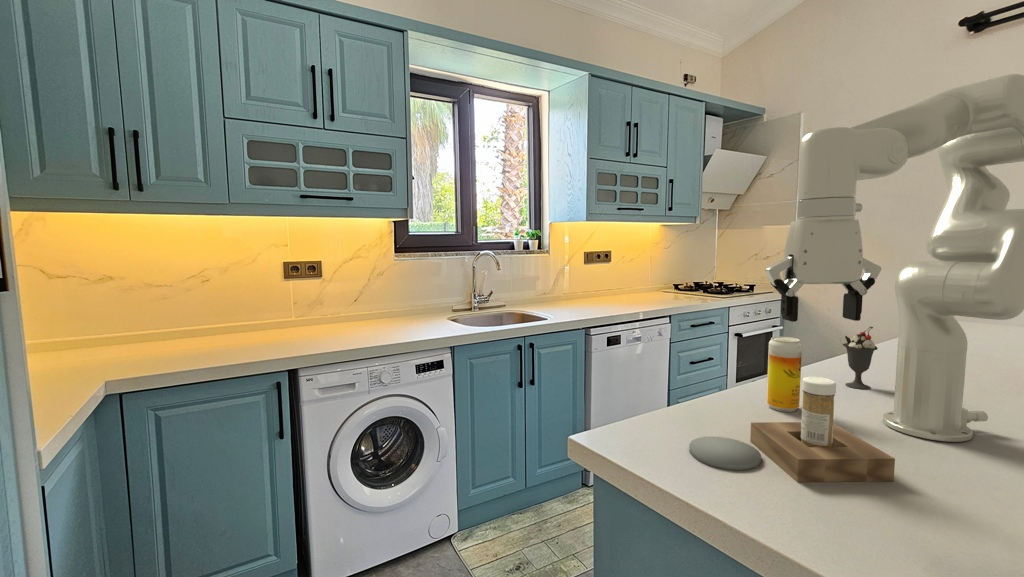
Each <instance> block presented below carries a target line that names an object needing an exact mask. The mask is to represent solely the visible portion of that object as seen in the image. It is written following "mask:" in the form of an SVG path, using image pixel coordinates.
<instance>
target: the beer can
mask: <svg viewBox="0 0 1024 577" xmlns="http://www.w3.org/2000/svg"><path fill="white" fill-rule="evenodd" d="M802 350H803V345H802V342H801V340H800V339H799V338H796V337H791V336H772V337H771V338H770V340H769V342H768V356H767V357H768V358H767V378H766V380H767V383H766V384H767V385H766V403H767V404H768V407H769V408H770V409H772V410H775V411H780V412H785V413H787V412H788V413H791V412H792V413H793V412H795V411H796V410H797V409H799V408H800V399H801V398H800V397H801V395H800V394H801V379H802V378H801V376H802V373H801V372H802V356H803V354H802V353H803V351H802Z"/></svg>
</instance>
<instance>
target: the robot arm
mask: <svg viewBox="0 0 1024 577" xmlns="http://www.w3.org/2000/svg"><path fill="white" fill-rule="evenodd" d="M799 145H800V146H799V158H798V160H799V162H798V163H799V164H798V165H799V166H798V186H797V188H798V189H797V209H796V210H797V212H796V220H794V221H791V222H790V225H789V228H788V232H787V236H786V241H785V247H784V254H783V259H782V260H779V261H778V262H776V263H774V264H771V265H769V266H767V267H766V268H765V273H766V275H767V277H768V280H769V281H770V284H771V286H772V287H773V288H774V289H775V290H776V291H777V294H779V295H781V297H780V298H781V299H780V314H781V316H782V319H783V320H785V321H788V322H798V319H799V317H798V316H799V297H798V296H796V294H797V292H798V291H799V290H800V289H801V288H802V287H803V285H842V287H843V288H844V289H845V291H847V293H843V294H844V295H843V298H842V299H843V300H842V317H843V318H844V319H846V320H849V321H857V322H860V321H861V317H862V316H861V315H862V313H863V296H866V295H867V294H868V291H869V289H870V288H872V286H875V285H874V284H875V283H876V280H877V278H878V276H879V275H880V272H881V271H882V266H880V265H879V264H876V263H874V262H872V261H871V260H868V259H867V258H864V257H863V253H864V251H863V238H862V231H861V230H862V229H861V225H860V221H859V219H856V217H855V216H856V213H861V211H862V209H863V204H862V203H860V202H859V203H858V202H857V199H856V198H857V181H864V180H872V179H873V180H874V179H879V178H883V177H885V178H886V177H887V176H891V175H893V174H895V173H897V172H898V171H899V170H901V169H902V168H903V167H904V166H905V164H906V163H907V162H908V159H912V158H915V157H919V156H922V155H926V154H928V153H930V152H932V151H934V150H936V149H938V151H937V152H938V157H939V162H940V165H941V168H942V171H943V174H944V178H945V181H946V185H947V195H946V197H945V199H944V203H943V205H942V206H941V208H940V210H939V212H938V214H937V216H936V219H935V220H934V223H933V225H932V227H931V229H930V232H929V234H928V237H927V240H926V252H927V253H928V254H929V255H930V257H931V258H932V259H934V260H924V261H916V262H912V263H910V264H908V265H906V266H904V267H903V268H901V270H899V272H898V273H897V275H896V277H895V280H894V292H895V298H896V304H897V311H898V341H897V351H896V352H897V355H896V365H895V366H896V368H895V381H894V382H895V384H894V396H893V397H894V399H893V411H887V412H885V413H884V414H882V422H883V423H884V424H885V425H886V426H887V427H889V428H891V429H893V430H895V431H898V432H900V433H904V434H905V435H910V436H912V437H917V438H920V439H926V440H931V441H937V442H946V443H947V442H949V443H951V442H952V443H962V442H966V441H970V440H971V439H972V438H973V431H972V429H971V428H970V427H969V426H968V425H967V424H970V423H971V422H987V421H988V419H989V416H988V414H987V412H985V411H983V410H970V411H969V410H968V409H966V408H965V407H963V401H964V392H965V391H964V390H965V380H966V379H965V378H966V367H967V366H966V365H967V355H968V337H967V334H966V333H965V332H966V331H965V330H964V329H963V328H962V325H961V324H960V323H959V321H958V320H957V319H956V317H957V316H958V317H965V318H975V319H976V318H977V319H982V320H983V319H985V320H995V321H997V320H999V321H1005V320H1012V319H1014V318H1017V317H1018V316H1020V315H1021V314H1022V313H1023V312H1024V208H1008V209H1007V205H1008V204H1009V201H1010V198H1011V195H1010V191H1009V188H1008V187H1007V185H1005V183H1004V182H1003V181H1002V180H1001V179H999V177H997V176H996V175H994V174H993V173H991V172H990V170H988V169H987V166H995V165H996V166H997V165H1004V164H1006V165H1007V164H1014V163H1023V162H1024V74H1021V73H1019V74H1018V73H1011V74H1005V75H1001V76H998V77H994V78H990V79H989V78H988V79H987V80H982V81H978V82H974V83H970V84H967V85H966V84H965V85H962V86H958V87H954V88H951V89H948V90H947V89H946V90H945V91H942V92H939V93H937V94H935V95H932V96H930V97H928V98H925V99H924V100H921V101H919V102H916V103H913V104H912V105H909V106H907V107H904V108H901V109H899V110H895V111H893V112H890V113H887V114H884V115H882V116H879V117H876V118H874V119H872V120H869V121H865V122H862V123H860V124H858V125H855V126H852V127H849V126H848V127H847V126H837V127H827V128H821V129H818V130H813V131H811V132H808V133H806V134H805V135H804V136H803V137H802V138H801V140H800V144H799ZM863 270H864V275H863V276H862V273H863ZM781 272H782V278H781V274H780V273H781ZM783 279H784V280H783ZM955 316H956V317H955Z"/></svg>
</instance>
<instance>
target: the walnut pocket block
mask: <svg viewBox="0 0 1024 577" xmlns="http://www.w3.org/2000/svg"><path fill="white" fill-rule="evenodd" d="M749 437H750V438H749V442H750V441H751V442H750V443H751V444H752V445H754V446H755V447H756V448H757V449H759V451H761V452H762V453H763V454H764V455H765V456H767V458H769V459H770V460H771V461H772V462H773V463H775V465H777V466H778V467H779V468H780V469H781V470H782V471H784V472H785V473H786V474H787V475H789V476H790V477H791V478H792V479H793V480H794V481H796V483H797V482H798V483H800V482H801V483H803V482H804V483H805V482H807V483H811V482H812V483H814V482H815V483H817V482H822V483H823V482H824V483H826V482H827V483H828V482H829V483H831V482H832V483H833V482H837V483H839V482H847V483H848V482H894V480H895V464H896V459H895V457H893V456H891V455H890V454H888V453H886V452H885V451H883V450H881V449H880V448H877V447H875V446H874V445H872V444H871V443H869V442H867V441H866V440H864V439H862V438H860V437H858V436H857V435H855V434H853V433H851V432H850V431H848V430H846V429H844V428H843V427H841V426H839V425H837V424H836V423H834V422H833V443H832V447H808V446H806V445H805V444H803V443H802V442H801V421H791V422H787V421H786V422H784V421H783V422H781V421H779V422H777V421H776V422H769V421H768V422H764V421H763V422H762V421H761V422H750V436H749Z"/></svg>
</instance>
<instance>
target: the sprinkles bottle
mask: <svg viewBox="0 0 1024 577" xmlns="http://www.w3.org/2000/svg"><path fill="white" fill-rule="evenodd" d="M836 383H837V382H836V381H835V380H832V379H830V378H826V377H821V376H805V377H803V379H802V385H801V389H802V407H801V421H800V422H801V442H802V443H803V444H805V445H806V446H808V447H832V443H833V423H834V415H835V414H834V412H835V409H834V408H835V395H836V393H837V384H836Z"/></svg>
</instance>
